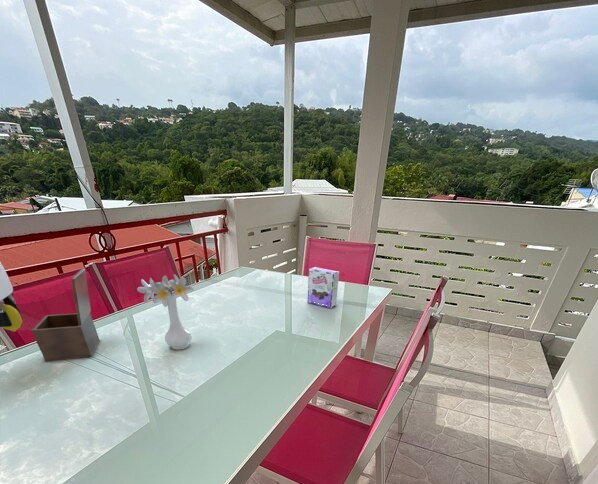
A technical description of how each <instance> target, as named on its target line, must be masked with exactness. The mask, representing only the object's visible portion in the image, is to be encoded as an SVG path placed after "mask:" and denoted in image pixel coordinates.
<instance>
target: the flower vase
mask: <svg viewBox="0 0 598 484" xmlns="http://www.w3.org/2000/svg"><path fill="white" fill-rule="evenodd" d="M168 278H169V277H168V276H167V275H163V276H162V278H161V281H158V282H155V281H154V280H153V279H152V277H149V284H148V283H147V282H146V281H145V280H144V279H143V278H141V279H140V283H141V285H142V286H138V287H137V288H136V290H137V292H138V293H140V294H143V295H144V296H143V301H144V302H145V303H148V301H149V299H151V300H152V302H153V304H157V303H160V302H161V304H162V305H163V307H164V308H167V310H168V316H169V327H168V329H167V331H166V333H165V335H164V341H165V343H166V344H167V345H168V346H170V348H171V349H173V350H177V351H178V350H185V349H187V348H188V347H189V345H190V343H191V341H192V340H193V335H192V333H191V332H190V331H189V330H188V329H187V328H185V327H184V325H183V323H182V322H181V319H180V315H179V311H178V306H177V305H178V304H177V298H179V297H181V299H182V300H183V301H185V302H188V301H189V296H188V294H189V293H193V291H194V288H193V287H192V286H188V285H186V284H187V279H186V278H185V277H183V276H182V277H180V278H179V277H178V275H176V274H175V273H174V274H173V279H168ZM154 294H155V295H154Z"/></svg>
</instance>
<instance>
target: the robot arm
mask: <svg viewBox="0 0 598 484" xmlns="http://www.w3.org/2000/svg"><path fill="white" fill-rule="evenodd" d="M13 292H14V287H13V285H12V283H11V280H10V277H9V275H8V273H7V271H6V270H5V267H4V266H3V263H2V262H1V261H0V328H2V327H11V326H12V323H11V321H10V319H9V317H8V314H7V312H4V309H3V306H2V304H5V305H10V306H12V307H14V308H15V309H16V310H17V311H18V312H19V314H20V316H21V317H22V315H21V314H22V313H21V312H20V310H19V307H18V305H17V301H16V299H15V297H14V293H13Z"/></svg>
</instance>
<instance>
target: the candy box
mask: <svg viewBox="0 0 598 484" xmlns="http://www.w3.org/2000/svg"><path fill="white" fill-rule="evenodd" d="M339 279H340V271H337V270H333V269H332V270H331V269H328V268H327V269H326V268H322V267H317V266H314V267H311V268H309V269H308V281H307V282H308V283H307V304H311V305H316V306H320V307H322V308H323V307H324V308H328V309H332V308H335V307H336V306H337V297H338V289H339ZM310 301H311V302H310ZM314 302H315V303H314ZM318 303H319V304H318ZM322 304H324V305H322ZM334 304H335V305H334ZM326 305H327V306H326Z"/></svg>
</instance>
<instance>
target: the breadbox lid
mask: <svg viewBox="0 0 598 484" xmlns="http://www.w3.org/2000/svg"><path fill="white" fill-rule="evenodd" d="M70 280H71V286H72V287H71V288H72V294H73V299H74V305H75V313H77V318H78V325H82V324H83V322H84V321H85V319H86V318H87V316H88V315H89V313H90V314H91V313H92V309H91V301H90V294H89V293H90V292H89V287H88V279H87V273H86V268H85V267H81V268H80V270H79V271H77V272H76V273H75V274H74V275H73V276H72V277H71V279H70Z"/></svg>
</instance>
